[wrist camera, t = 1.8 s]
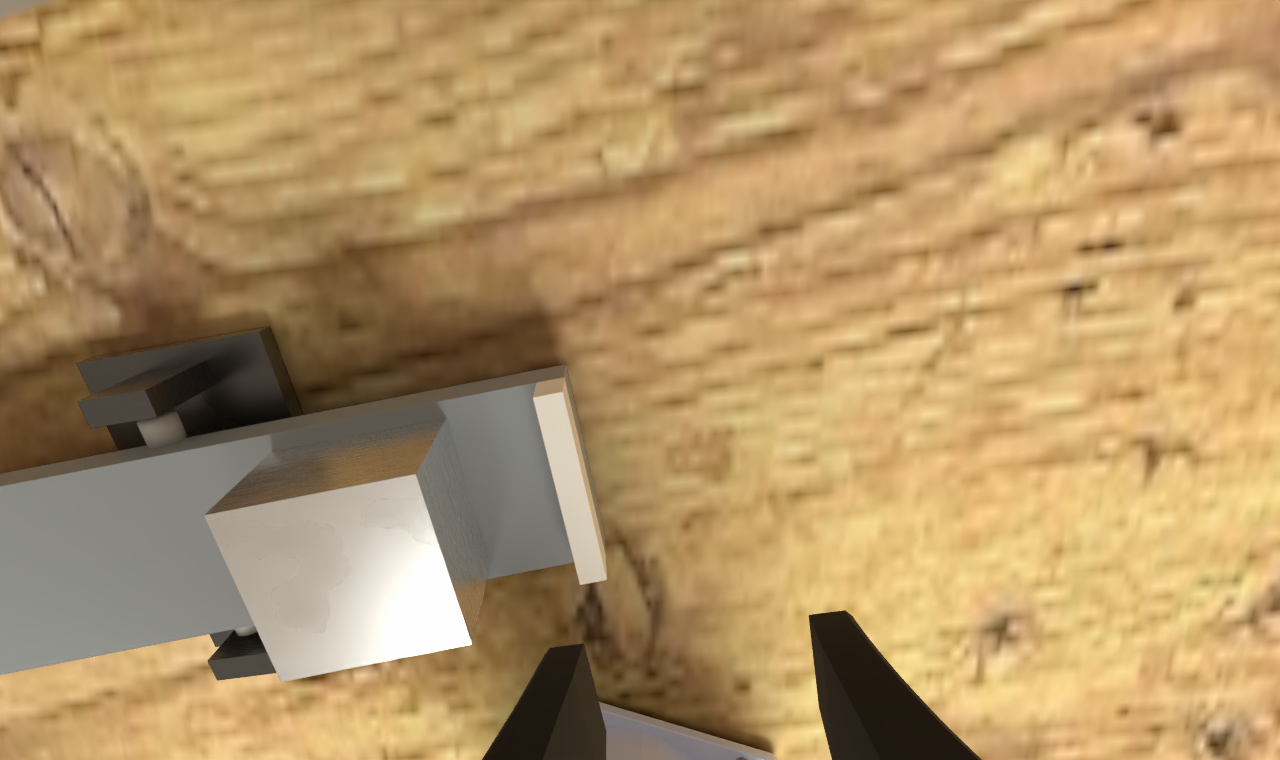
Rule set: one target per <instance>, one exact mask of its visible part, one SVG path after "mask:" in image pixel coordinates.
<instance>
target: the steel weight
mask: <svg viewBox="0 0 1280 760" xmlns="http://www.w3.org/2000/svg"><path fill="white" fill-rule="evenodd" d="M204 517H205V519H206V521H207V523H208V526H209V528H210V530H211V532H212V534H213V536H214V539H215V541H216V543H217V545H218V547H219V549H220V551H221V554H222V556H223V558H224V560H225V562H226V564H227V567H228V569H229V571H230V573H231V575H232V577H233V580H234V582H235V584H236V586H237V588H238V590H239V593H240V595H241V597H242V599H243V601H244V603H245V606H246V608H247V610H248V612H249V614H250V616H251V619H252V621H253V623H254V625H255V627H256V629H257V632H258V634H259V636H260V638H261V640H262V642H263V645H264V647H265V649H266V651H267V653H268V655H269V657H270V660H271V662H272V664H273V666H274V668H275V670H276V673H277V675H278V677H279V679H280V681H281V682H283V681H289V680H294V679H299V678H304V677H309V676H314V675H319V674H324V673H329V672H334V671H339V670H344V669H350V668H355V667H360V666H365V665H370V664H375V663H380V662H385V661H390V660H395V659H400V658H405V657H410V656H416V655H421V654H426V653H431V652H436V651H441V650H446V649H451V648H456V647H461V646H466V645H471V644H472V642H473V638H474V633H475V629H476V625H477V621H478V617H479V613H480V608H481V604H482V600H483V596H484V592H485V588H486V584H487V579H488V575H489V571H490V567H491V563H490V560H489V556H488V553H487V550H486V546H485V543H484V540H483V536H482V533H481V530H480V526H479V523H478V520H477V517H476V513H475V510H474V507H473V503H472V500H471V497H470V493H469V490H468V487H467V484H466V480H465V477H464V474H463V470H462V467H461V464H460V460H459V457H458V454H457V450H456V447H455V444H454V441H453V437H452V434H451V431H450V427H449V424H448V421H447V417H445V418H440V419H435V420H430V421H425V422H420V423H414V424H409V425H404V426H399V427H394V428H389V429H383V430H378V431H373V432H368V433H363V434H358V435H353V436H347V437H342V438H337V439H332V440H327V441H322V442H316V443H311V444H306V445H301V446H296V447H291V448H285V449H280V450H275V451H272V452H271V453H270V454H269V455H267V456H266V457H265V458H264V459H263V460H262V461H261V462H260V463H259V464H258V465H257V466H256V467H255V468H254V469H253V470H252V471H250V472H249V473H248V474H247V475H246V476H245V477H244V478H243V479H242V480H241V481H240V482H239V483H238V484H237V485H236V486H235V487H233V488H232V489H231V490H230V491H229V492H228V493H227V494H226V495H225V496H224V497H223V498H222V499H221V500H220V501H219V502H218V503H216V504H215V505H214V506H213V507H212V508H211V509H210V510H209V511H208V512H207V513H206V514H205V515H204Z"/></svg>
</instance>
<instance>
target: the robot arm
mask: <svg viewBox="0 0 1280 760" xmlns="http://www.w3.org/2000/svg"><path fill="white" fill-rule="evenodd" d="M809 622H810V631H811V640H812V649H813V657H814V666H815V675H816V684H817V692H818V701H819V708H820V712H821V717H822V721H823V725H824V729H825V733H826V737H827V741H828V745H829V749H830V753H831V757H832V760H981V759H980V758H979V757H978V756H977V755H976V754H975V753H974V752H973V751H972V750H971V749H970V748H969V747H968V746H967V745H966V744H965V743H964V742H963V741H962V740H961V739H960V738H959V737H957V736H956V735H955V734H954V733H953V732H952V731H951V730H950V729H949V728H948V727H947V726H946V725H945V724H944V723H943V722H942V721H941V720H940V719H939V717H938V716H937V715H936V714H935V713H934V712H933V711H932V710H931V709H930V708H929V707H928V706H927V705H926V704H925V703H924V702H923V701H922V699H921V698H920V697H919V696H918V695H917V694H916V693H915V692H914V691H913V690H912V689H911V688H910V687H909V685H908V684H907V683H906V682H905V681H904V680H903V679H902V678H901V677H900V675H899V674H898V673H897V672H896V671H895V670H894V669H893V667H892V666H891V665H890V664H889V663H888V661H887V660H886V659H885V658H884V657H883V655H882V654H881V653H880V652H879V651H878V649H877V648H876V647H875V646H874V644H873V643H872V642H871V641H870V639H869V638H868V637H867V635H866V634H865V633H864V632H863V630H862V629H861V627H860V626H859V625H858V623H857V622H856V621H855V619H854V618H853V616H852V615H851V614H849V613H848V612H846V611H837V612H829V613H821V614H813V615H809ZM740 757H744V758H740ZM482 760H777V759H776V757H775V756H774V755H773V754H771V753H769V752H766V751H763V750H759V749H756V748H752V747H749V746H746V745H742V744H739V743H736V742H732V741H729V740H726V739H722V738H719V737H715V736H712V735H709V734H705V733H702V732H699V731H695V730H692V729H689V728H685V727H682V726H678V725H675V724H672V723H668V722H665V721H662V720H658V719H655V718H651V717H648V716H645V715H641V714H638V713H635V712H631V711H628V710H625V709H621V708H618V707H614V706H611V705H608V704H604V703H601V702H599V701H598V697H597V693H596V689H595V685H594V681H593V678H592V674H591V670H590V666H589V662H588V658H587V654H586V651H585V647H584V644H577V645H570V646H562V647H554V648H550V649H549V650H548V651H547V652H546V654H545V655H544V657H543V659H542V661H541V662H540V664H539V666H538V668H537V670H536V671H535V673H534V675H533V677H532V678H531V680H530V682H529V684H528V685H527V687H526V689H525V691H524V692H523V694H522V696H521V697H520V699H519V701H518V703H517V704H516V706H515V708H514V709H513V711H512V713H511V714H510V716H509V718H508V719H507V721H506V722H505V724H504V726H503V727H502V729H501V730H500V732H499V734H498V735H497V737H496V738H495V740H494V742H493V743H492V745H491V746H490V748H489V750H488V751H487V753H486V754H485V756H484V757H483V759H482Z"/></svg>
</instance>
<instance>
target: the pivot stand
mask: <svg viewBox="0 0 1280 760" xmlns="http://www.w3.org/2000/svg"><path fill="white" fill-rule="evenodd" d="M76 365H77V367H78V369H79V371H80V373H81V375H82V377H83V379H84V381H85V383H86V385H87V387H88V389H89V391H90V393H91V396H89V397H86V398H84V399H82V400H80V401H78V404H79V406H80V408H81V410H82V412H83V414H84V416H85V418H86V420H87V422H88V424H89V426H90V428H95V427H101V426H107V428H108V430H109V432H110V434H111V436H112V438H113V440H114V442H115V444H116V446H117V448H118V450H119V451H120V450H126V449H131V448H136V447H141V446H146V445H147V444H146V442H145V440H144V438H143V436H142V434H141V432H140V430H139V427H138V425H137V422H138V421H139V420H143V419H149V418H155V417H158V416H160V415H162V414H164V413H165V412H167V411H169V410H176V411H177V413H178V415H179V418H180V420H181V422H182V424H183V426H184V429H185V431H186V433H187V437H185V438H188V437H193V436H198V435H203V434H208V433H213V432H219V431H224V430H229V429H234V428H239V427H244V426H250V425H255V424H260V423H265V422H270V421H275V420H281V419H286V418H291V417H296V416H301V415H303V413H302V410H301V408H300V405H299V402H298V400H297V397H296V395H295V392H294V389H293V387H292V384H291V381H290V379H289V376H288V374H287V371H286V368H285V366H284V363H283V361H282V358H281V355H280V353H279V350H278V347H277V345H276V342H275V340H274V337H273V334H272V332H271V329H270V326H268V327H262V328H256V329H251V330H245V331H239V332H234V333H228V334H222V335H217V336H211V337H205V338H200V339H194V340H188V341H183V342H177V343H171V344H166V345H160V346H154V347H148V348H143V349H137V350H131V351H126V352H120V353H114V354H109V355H103V356H97V357H92V358H89V359H86V360H84V361H81V362H79V363H76ZM210 636H211V638H212V640H213V642H214V645H215V647H218V646H220V647H219V648H218V649H217V651H216V652H215V653H214V654H213V655H212V656H211V658H210V659H209V660H208V663H209V665H210V667H211V669H212V671H213V673H214V675H215V677H216V679H217V680H225V679H233V678H240V677H248V676H256V675H264V674H271V673H276V670H275V668H274V666H273V664H272V662H271V660H270V657H269V655H268V653H267V651H266V649H265V647H264V645H263V642H262V640H261V638H260V636H259V634H258V632H256V633H253V634H251V635H248V636H238V635H237V633H236V631H235V629H232V630H227V631H222V632H217V633H212V634H210Z"/></svg>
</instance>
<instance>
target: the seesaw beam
mask: <svg viewBox="0 0 1280 760" xmlns="http://www.w3.org/2000/svg"><path fill="white" fill-rule="evenodd" d="M445 417H447V421H448V424H449V427H450V431H451V434H452V437H453V441H454V444H455V447H456V450H457V454H458V457H459V460H460V464H461V467H462V470H463V474H464V477H465V480H466V484H467V487H468V490H469V493H470V497H471V500H472V503H473V507H474V510H475V513H476V517H477V520H478V523H479V526H480V530H481V533H482V536H483V540H484V543H485V546H486V550H487V553H488V556H489V560H490V563H491V567H490V571H489V575H488V579H493V578H498V577H503V576H508V575H513V574H518V573H523V572H528V571H534V570H539V569H544V568H549V567H554V566H559V565H564V564H569V563H575V567H576V571H577V575H578V579H579V583H580V585H583V584H588V583H593V582H599V581H604V580H607V571H606V545H605V532H604V528H603V524H602V519H601V515H600V511H599V506H598V502H597V498H596V493H595V489H594V484H593V480H592V476H591V471H590V467H589V463H588V458H587V454H586V450H585V445H584V441H583V437H582V432H581V428H580V423H579V419H578V415H577V410H576V406H575V402H574V397H573V393H572V389H571V384H570V380H569V376H568V371H567V367H566V364H565V365H559V366H554V367H549V368H544V369H539V370H534V371H528V372H523V373H518V374H513V375H508V376H503V377H497V378H492V379H487V380H482V381H477V382H472V383H467V384H461V385H456V386H451V387H446V388H441V389H436V390H430V391H425V392H420V393H415V394H410V395H405V396H399V397H394V398H389V399H384V400H379V401H374V402H368V403H363V404H358V405H353V406H348V407H343V408H337V409H332V410H327V411H322V412H317V413H312V414H306V415H301V416H296V417H291V418H286V419H281V420H275V421H270V422H265V423H260V424H255V425H250V426H244V427H239V428H234V429H229V430H224V431H219V432H213V433H208V434H203V435H198V436H193V437H188V438H185V437H187V433H186V431H185V429H184V426H183V424H182V422H181V420H180V418H179V415H178V413H177V411H176V410H169V411H167V412H165V413H164V414H162V415H160V416H158V417H155V418H149V419H143V420H139V421H138V422H137V425H138V427H139V430H140V432H141V434H142V436H143V438H144V440H145V442H146V444H147V445H146V446H141V447H136V448H131V449H126V450H120V451H115V452H110V453H105V454H100V455H95V456H89V457H84V458H79V459H74V460H69V461H64V462H58V463H53V464H48V465H43V466H38V467H33V468H27V469H22V470H17V471H12V472H7V473H2V474H0V675H2V674H8V673H13V672H18V671H23V670H28V669H33V668H38V667H43V666H48V665H53V664H59V663H64V662H69V661H74V660H79V659H84V658H89V657H94V656H99V655H105V654H110V653H115V652H120V651H125V650H130V649H135V648H140V647H145V646H151V645H156V644H161V643H166V642H171V641H176V640H181V639H186V638H191V637H196V636H202V635H207V634H212V633H217V632H222V631H227V630H232V629H235V631H236V633H237V635H238V636H248V635H251V634H253V633H256V632H257V629H256V627H255V625H254V623H253V621H252V619H251V616H250V614H249V612H248V610H247V608H246V606H245V603H244V601H243V599H242V597H241V595H240V593H239V590H238V588H237V586H236V584H235V582H234V580H233V577H232V575H231V573H230V571H229V569H228V567H227V564H226V562H225V560H224V558H223V556H222V554H221V551H220V549H219V547H218V545H217V543H216V541H215V539H214V536H213V534H212V532H211V530H210V528H209V526H208V523H207V521H206V519H205V517H204V515H205V514H206V513H207V512H208V511H209V510H210V509H211V508H212V507H213V506H214V505H215V504H216V503H218V502H219V501H220V500H221V499H222V498H223V497H224V496H225V495H226V494H227V493H228V492H229V491H230V490H231V489H232V488H233V487H235V486H236V485H237V484H238V483H239V482H240V481H241V480H242V479H243V478H244V477H245V476H246V475H247V474H248V473H249V472H250V471H252V470H253V469H254V468H255V467H256V466H257V465H258V464H259V463H260V462H261V461H262V460H263V459H264V458H265V457H266V456H267V455H269V454H270V453H271V452H272V451H275V450H280V449H285V448H291V447H296V446H301V445H306V444H311V443H316V442H322V441H327V440H332V439H337V438H342V437H347V436H353V435H358V434H363V433H368V432H373V431H378V430H383V429H389V428H394V427H399V426H404V425H409V424H414V423H420V422H425V421H430V420H435V419H440V418H445ZM488 579H487V580H488Z"/></svg>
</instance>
